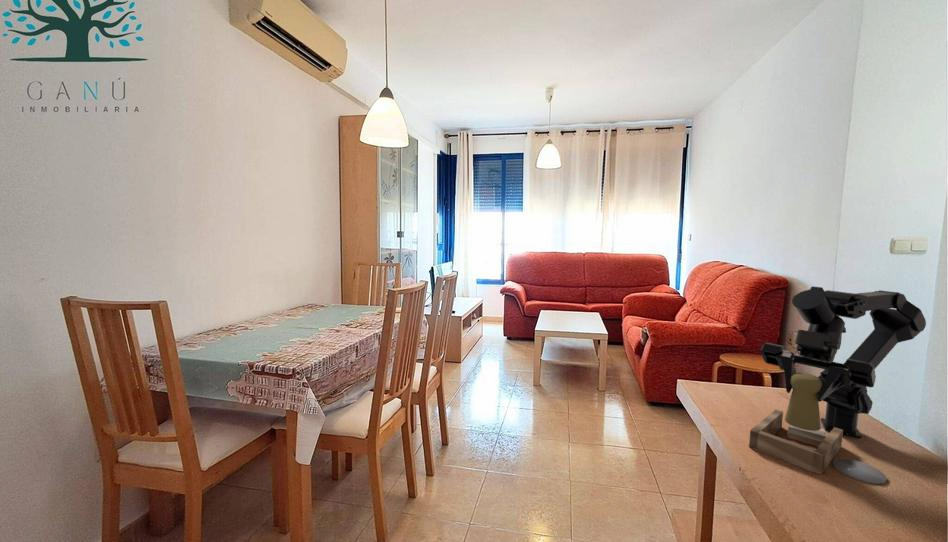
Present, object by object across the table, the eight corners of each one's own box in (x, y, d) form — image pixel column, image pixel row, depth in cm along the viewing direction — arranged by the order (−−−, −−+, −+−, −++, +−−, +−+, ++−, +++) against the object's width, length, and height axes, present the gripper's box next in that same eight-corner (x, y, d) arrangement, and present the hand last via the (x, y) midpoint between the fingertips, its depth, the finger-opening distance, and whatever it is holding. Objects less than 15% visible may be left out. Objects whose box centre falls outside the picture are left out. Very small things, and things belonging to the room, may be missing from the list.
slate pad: (829, 456, 83) (829, 454, 83) (879, 468, 79) (879, 466, 79) (837, 475, 77) (838, 472, 77) (892, 489, 73) (892, 486, 73)
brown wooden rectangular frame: (774, 424, 97) (775, 409, 97) (841, 446, 87) (843, 429, 87) (749, 447, 87) (750, 430, 87) (821, 474, 77) (823, 456, 77)
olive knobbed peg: (781, 422, 85) (785, 374, 83) (787, 413, 89) (791, 367, 87) (818, 433, 80) (823, 383, 79) (823, 423, 84) (827, 375, 83)
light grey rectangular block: (788, 431, 94) (789, 420, 94) (827, 443, 89) (828, 430, 89) (786, 438, 91) (787, 426, 91) (826, 450, 86) (827, 437, 86)
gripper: (766, 309, 92) (743, 364, 87) (878, 324, 76) (859, 392, 71) (775, 335, 97) (755, 388, 92) (882, 354, 82) (865, 420, 77)
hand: (802, 396), depth 83 cm, fingers closed on olive knobbed peg, 5 cm apart
